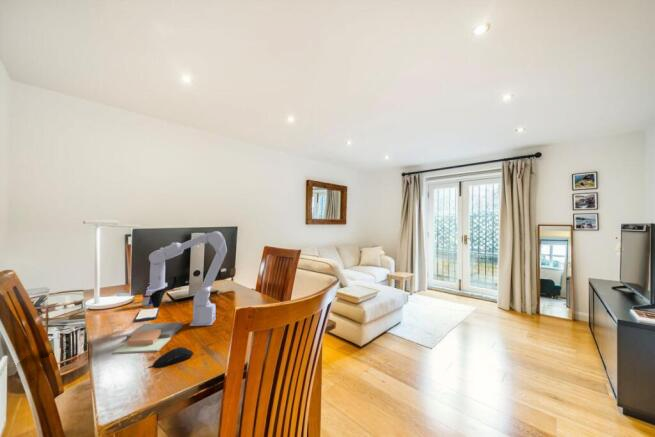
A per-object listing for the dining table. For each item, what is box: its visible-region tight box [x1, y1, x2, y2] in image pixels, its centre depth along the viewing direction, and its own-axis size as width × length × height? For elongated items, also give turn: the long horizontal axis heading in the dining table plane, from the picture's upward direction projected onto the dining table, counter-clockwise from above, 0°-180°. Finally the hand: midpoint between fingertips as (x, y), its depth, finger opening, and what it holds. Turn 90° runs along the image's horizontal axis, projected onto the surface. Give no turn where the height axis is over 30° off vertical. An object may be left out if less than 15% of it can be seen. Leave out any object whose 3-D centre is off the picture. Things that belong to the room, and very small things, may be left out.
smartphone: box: [134, 307, 160, 323], centre depth 127 cm, size 9×2×16 cm
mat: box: [112, 337, 172, 355], centre depth 96 cm, size 15×10×1 cm, turn 98°
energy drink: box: [142, 285, 153, 308], centre depth 142 cm, size 5×5×12 cm
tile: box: [126, 329, 161, 345], centre depth 99 cm, size 9×6×2 cm, turn 98°
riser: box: [126, 322, 183, 342], centre depth 107 cm, size 16×12×2 cm
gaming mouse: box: [146, 346, 194, 369], centre depth 86 cm, size 6×15×4 cm, turn 133°
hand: (156, 306), depth 113 cm, fingers closed
